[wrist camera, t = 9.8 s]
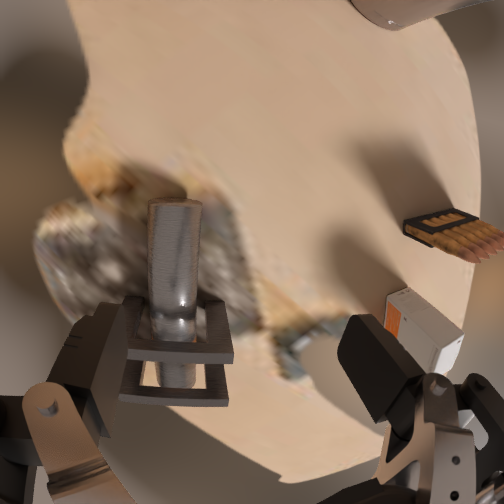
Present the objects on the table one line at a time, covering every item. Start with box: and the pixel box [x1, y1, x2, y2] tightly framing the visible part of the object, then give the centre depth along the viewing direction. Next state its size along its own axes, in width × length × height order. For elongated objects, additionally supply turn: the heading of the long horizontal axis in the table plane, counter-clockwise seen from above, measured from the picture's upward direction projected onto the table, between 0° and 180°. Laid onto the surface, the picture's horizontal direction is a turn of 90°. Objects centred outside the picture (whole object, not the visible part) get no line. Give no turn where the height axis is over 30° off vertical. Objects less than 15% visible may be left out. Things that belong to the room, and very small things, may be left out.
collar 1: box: [122, 296, 234, 364], centre depth 24 cm, size 1×11×8 cm, turn 82°
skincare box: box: [384, 287, 464, 375], centre depth 29 cm, size 6×4×12 cm
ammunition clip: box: [403, 208, 504, 264], centre depth 25 cm, size 11×2×12 cm, turn 99°
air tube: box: [147, 198, 202, 388], centre depth 25 cm, size 20×5×5 cm, turn 172°
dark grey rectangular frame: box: [119, 359, 229, 407], centre depth 26 cm, size 1×11×8 cm, turn 82°
